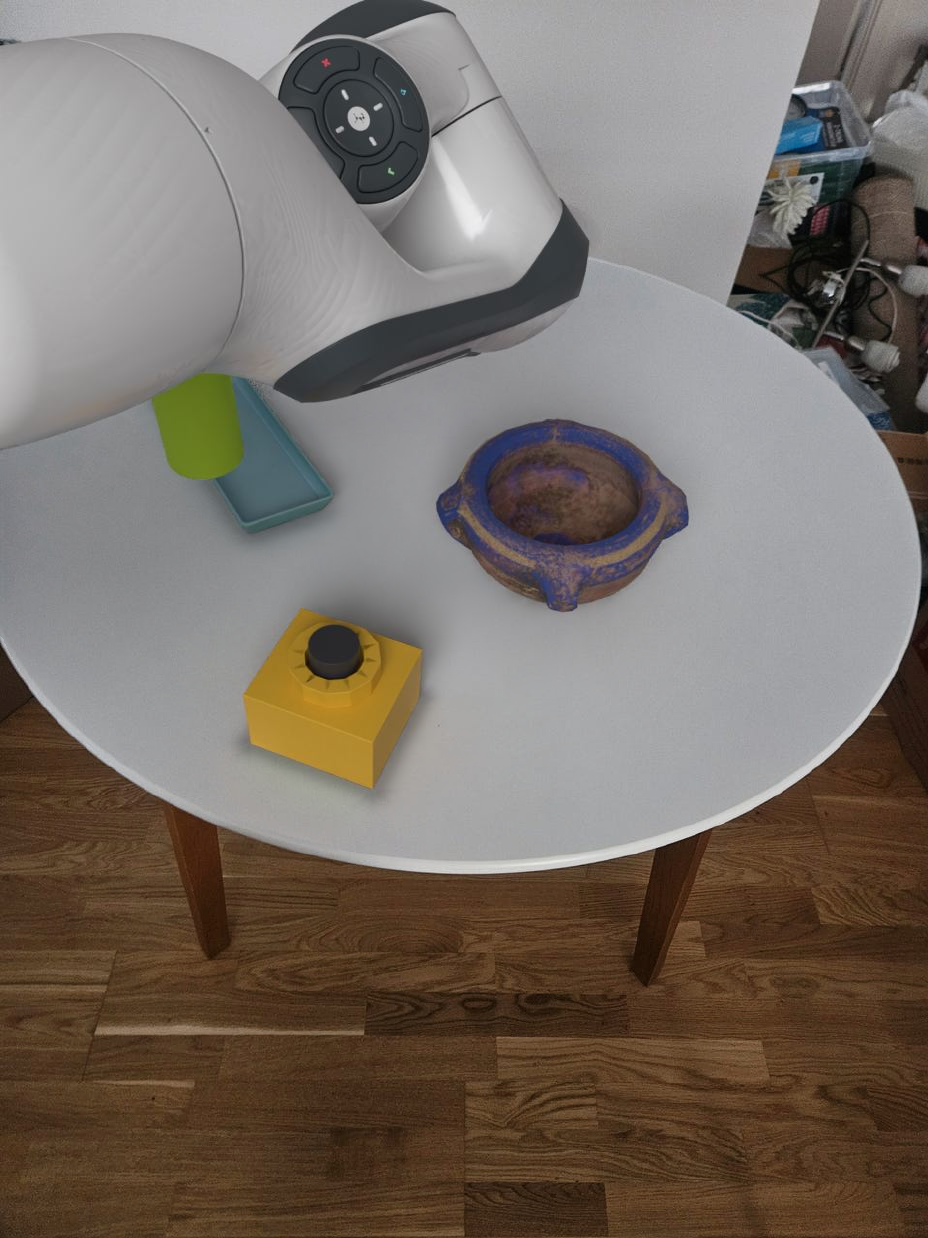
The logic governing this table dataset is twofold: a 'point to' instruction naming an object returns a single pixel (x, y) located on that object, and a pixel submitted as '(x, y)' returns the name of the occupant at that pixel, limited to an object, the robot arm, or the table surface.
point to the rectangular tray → (269, 469)
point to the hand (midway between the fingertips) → (173, 323)
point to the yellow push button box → (334, 702)
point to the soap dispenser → (200, 427)
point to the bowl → (562, 511)
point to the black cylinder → (334, 651)
